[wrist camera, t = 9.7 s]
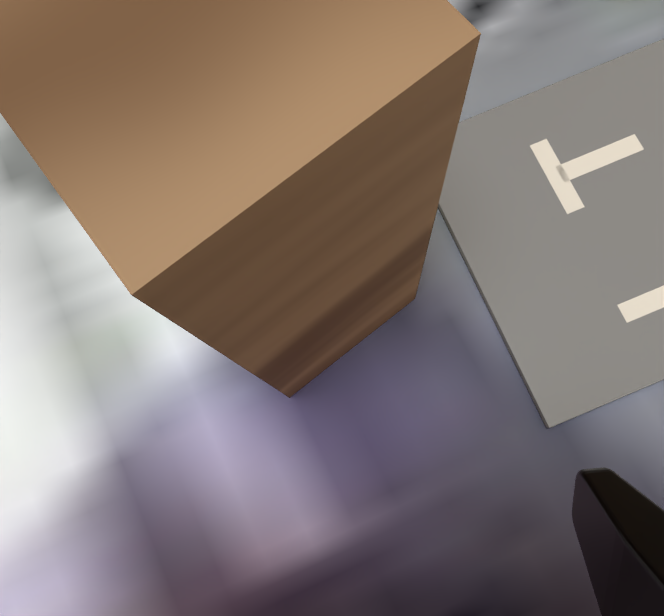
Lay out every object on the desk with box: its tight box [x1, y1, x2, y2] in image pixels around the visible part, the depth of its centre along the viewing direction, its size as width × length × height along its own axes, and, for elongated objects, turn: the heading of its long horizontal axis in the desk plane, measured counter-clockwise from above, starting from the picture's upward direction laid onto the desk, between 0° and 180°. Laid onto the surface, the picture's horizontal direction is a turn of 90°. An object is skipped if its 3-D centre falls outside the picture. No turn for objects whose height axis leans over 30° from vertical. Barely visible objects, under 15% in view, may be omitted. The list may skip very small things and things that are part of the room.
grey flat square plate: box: [438, 39, 664, 428], centre depth 19 cm, size 10×10×1 cm
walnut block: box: [0, 0, 481, 398], centre depth 14 cm, size 5×5×12 cm
